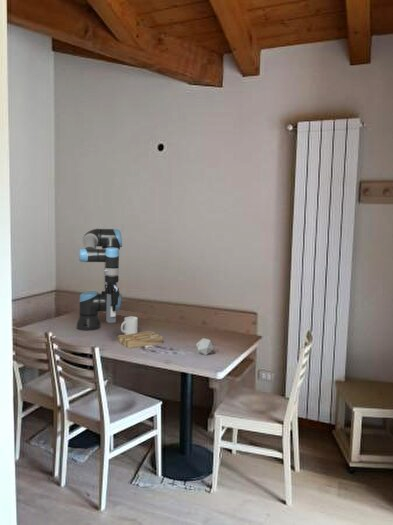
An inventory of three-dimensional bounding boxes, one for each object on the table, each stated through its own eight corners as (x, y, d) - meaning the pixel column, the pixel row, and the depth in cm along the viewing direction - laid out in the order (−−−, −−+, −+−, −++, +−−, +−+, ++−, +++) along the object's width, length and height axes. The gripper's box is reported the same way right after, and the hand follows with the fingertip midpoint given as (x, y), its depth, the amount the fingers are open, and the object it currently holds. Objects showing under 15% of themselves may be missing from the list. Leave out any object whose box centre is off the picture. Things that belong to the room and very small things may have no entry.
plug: (106, 321, 267) (106, 293, 265) (112, 320, 269) (113, 293, 267) (109, 323, 264) (109, 295, 262) (115, 322, 266) (116, 294, 264)
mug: (124, 337, 284) (125, 321, 282) (116, 334, 289) (116, 318, 288) (140, 334, 292) (140, 318, 291) (131, 331, 298) (131, 315, 297)
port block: (117, 342, 274) (118, 335, 273) (150, 337, 286) (150, 330, 286) (129, 348, 262) (129, 341, 262) (162, 343, 275) (162, 336, 275)
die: (198, 351, 264) (191, 339, 259) (212, 344, 264) (206, 332, 259) (202, 361, 257) (195, 349, 252) (217, 353, 257) (210, 341, 252)
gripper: (99, 273, 268) (98, 312, 271) (112, 277, 254) (111, 319, 257) (111, 272, 272) (110, 311, 275) (124, 277, 258) (123, 318, 262)
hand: (111, 315), depth 266 cm, fingers closed on plug, 4 cm apart
